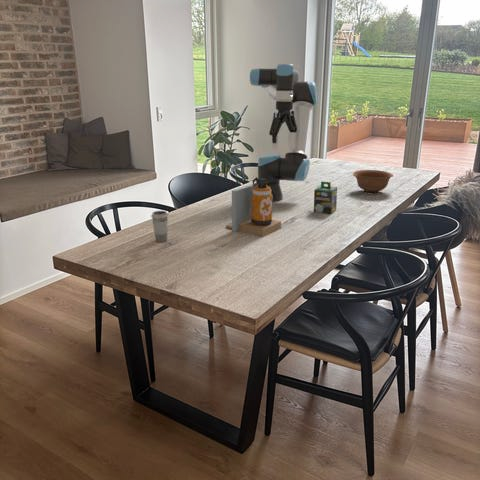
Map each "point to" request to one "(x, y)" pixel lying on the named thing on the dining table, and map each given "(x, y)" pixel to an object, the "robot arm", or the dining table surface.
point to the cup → (160, 225)
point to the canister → (261, 202)
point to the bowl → (372, 180)
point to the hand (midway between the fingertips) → (283, 148)
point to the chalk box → (325, 198)
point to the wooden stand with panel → (247, 214)
